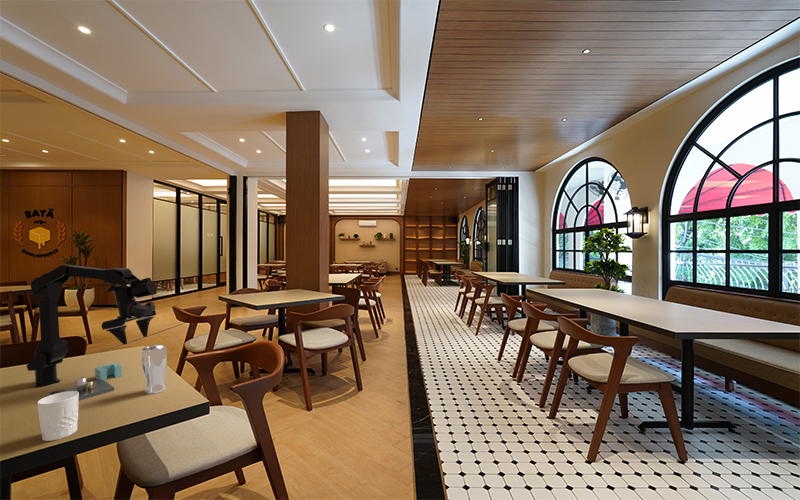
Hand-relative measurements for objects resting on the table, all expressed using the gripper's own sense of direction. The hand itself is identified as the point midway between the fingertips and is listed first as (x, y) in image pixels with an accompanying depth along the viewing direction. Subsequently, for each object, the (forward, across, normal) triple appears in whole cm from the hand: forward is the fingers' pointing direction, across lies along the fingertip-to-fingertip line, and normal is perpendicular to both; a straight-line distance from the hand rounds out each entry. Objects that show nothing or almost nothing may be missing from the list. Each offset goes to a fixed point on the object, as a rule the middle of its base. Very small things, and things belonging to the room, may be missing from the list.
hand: (135, 340), depth 133 cm
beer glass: (+17, -12, -14) cm, 25 cm away
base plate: (+12, -14, +10) cm, 21 cm away
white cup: (+15, -40, -10) cm, 44 cm away
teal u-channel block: (+12, 0, +14) cm, 19 cm away
